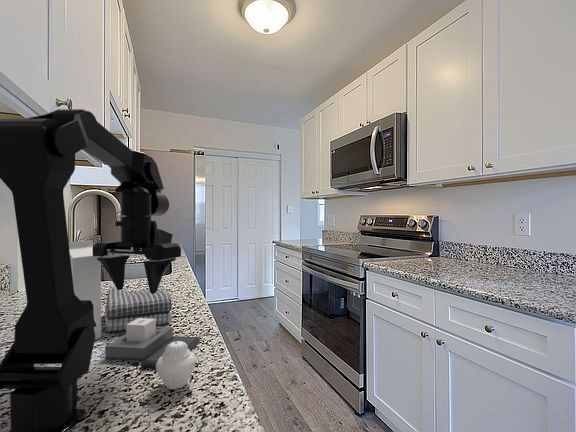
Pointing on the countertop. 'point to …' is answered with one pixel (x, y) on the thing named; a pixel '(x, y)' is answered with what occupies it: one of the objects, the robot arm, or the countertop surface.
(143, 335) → the block
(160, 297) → the towel
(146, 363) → the phone
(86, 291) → the milk
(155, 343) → the grey tray
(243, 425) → the countertop surface
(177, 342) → the white ribbed lump
